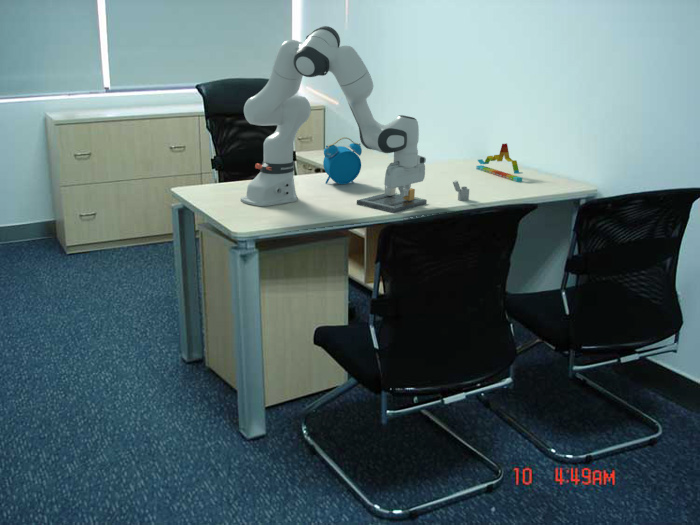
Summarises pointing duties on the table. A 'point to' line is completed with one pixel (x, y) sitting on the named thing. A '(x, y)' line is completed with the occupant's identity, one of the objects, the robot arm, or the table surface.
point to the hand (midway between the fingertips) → (404, 196)
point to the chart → (499, 157)
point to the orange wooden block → (410, 195)
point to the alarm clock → (342, 162)
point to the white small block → (389, 191)
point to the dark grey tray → (390, 202)
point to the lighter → (461, 191)
